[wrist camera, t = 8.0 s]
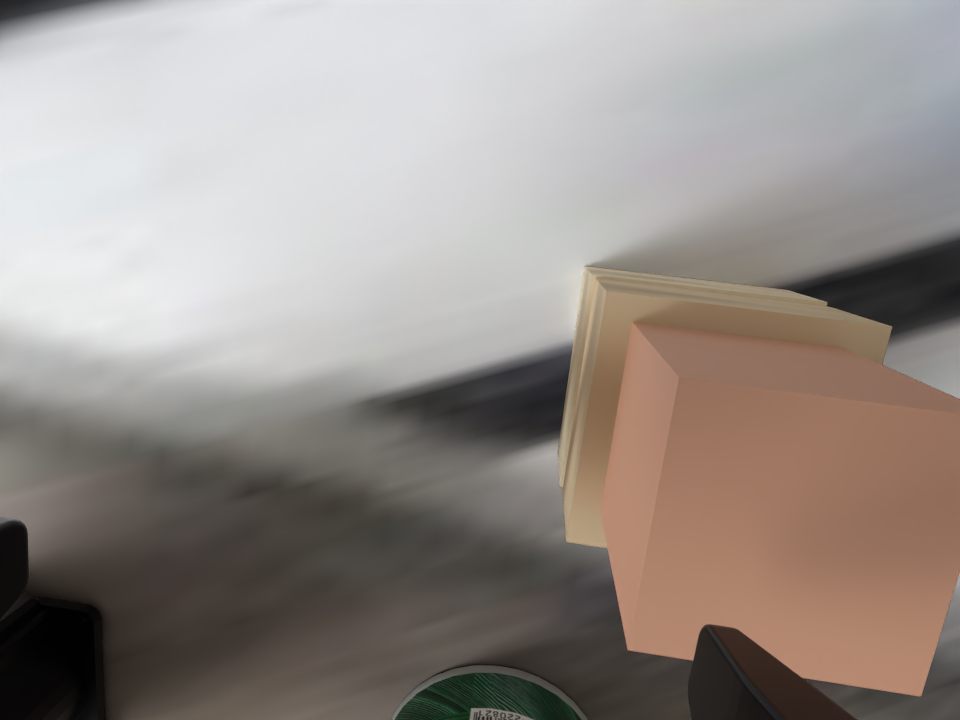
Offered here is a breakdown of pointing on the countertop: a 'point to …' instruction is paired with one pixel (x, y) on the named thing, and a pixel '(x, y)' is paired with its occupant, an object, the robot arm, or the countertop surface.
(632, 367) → the terracotta block
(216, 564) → the countertop surface
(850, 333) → the tower top
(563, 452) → the tower base
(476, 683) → the canned tomato
